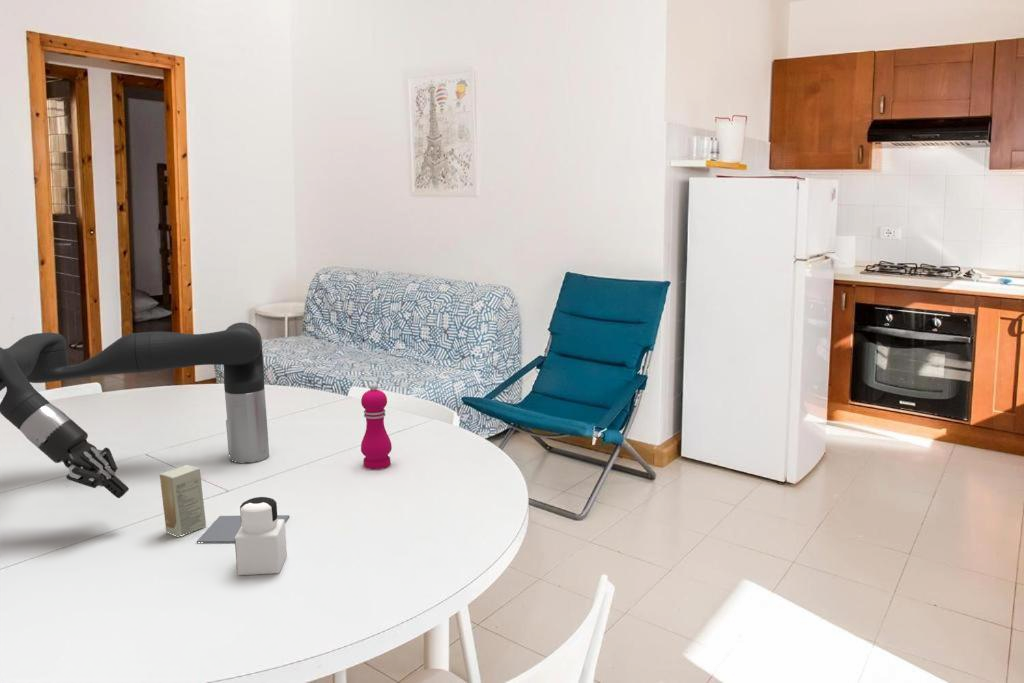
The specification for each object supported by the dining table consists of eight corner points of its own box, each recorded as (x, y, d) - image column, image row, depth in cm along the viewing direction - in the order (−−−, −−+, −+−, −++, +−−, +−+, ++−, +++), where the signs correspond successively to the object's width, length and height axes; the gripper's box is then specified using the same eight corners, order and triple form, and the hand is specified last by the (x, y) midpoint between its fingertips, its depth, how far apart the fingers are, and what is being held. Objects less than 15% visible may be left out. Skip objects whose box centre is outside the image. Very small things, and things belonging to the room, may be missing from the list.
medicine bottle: (246, 557, 146) (241, 494, 144) (287, 555, 146) (283, 492, 144) (237, 576, 139) (231, 509, 137) (279, 574, 139) (275, 508, 137)
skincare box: (193, 522, 162) (188, 463, 159) (207, 527, 159) (201, 467, 157) (164, 533, 156) (158, 473, 154) (177, 538, 154) (171, 477, 152)
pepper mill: (386, 471, 189) (382, 387, 186) (356, 469, 191) (352, 386, 187) (396, 461, 196) (393, 380, 193) (368, 459, 198) (364, 379, 194)
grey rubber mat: (196, 543, 152) (196, 541, 152) (220, 517, 164) (219, 515, 164) (271, 542, 152) (271, 540, 152) (289, 517, 163) (289, 515, 163)
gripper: (60, 435, 161) (128, 494, 163) (20, 457, 148) (94, 520, 150) (84, 409, 160) (152, 469, 162) (46, 429, 147) (120, 493, 149)
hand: (124, 493), depth 156 cm, fingers closed
